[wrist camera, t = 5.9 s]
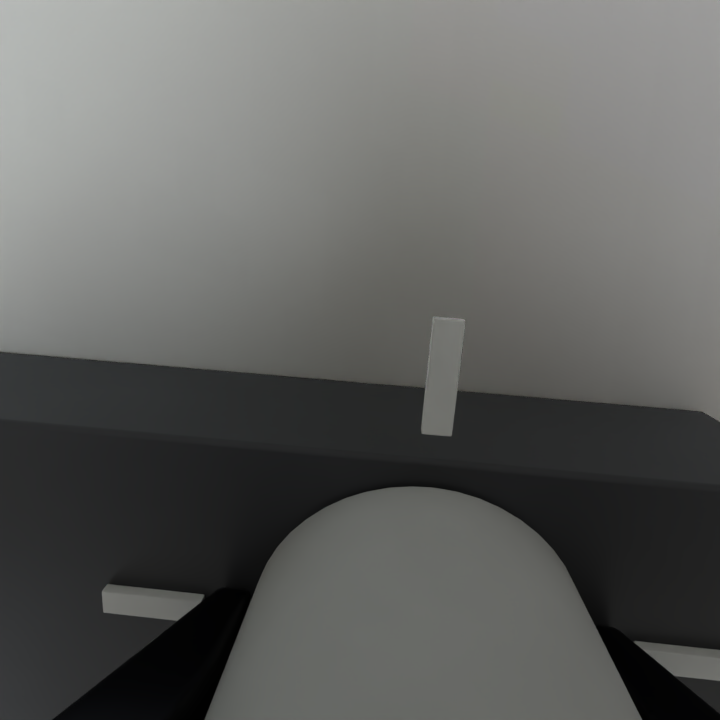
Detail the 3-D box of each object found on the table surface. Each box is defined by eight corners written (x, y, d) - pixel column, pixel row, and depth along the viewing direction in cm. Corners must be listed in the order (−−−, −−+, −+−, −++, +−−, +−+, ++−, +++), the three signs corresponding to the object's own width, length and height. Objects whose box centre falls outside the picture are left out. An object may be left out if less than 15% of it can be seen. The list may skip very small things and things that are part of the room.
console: (729, 309, 8) (921, 356, 5) (567, 938, 12) (622, 1168, 9) (-67, 250, 9) (-301, 262, 6) (26, 863, 13) (-85, 1054, 10)
